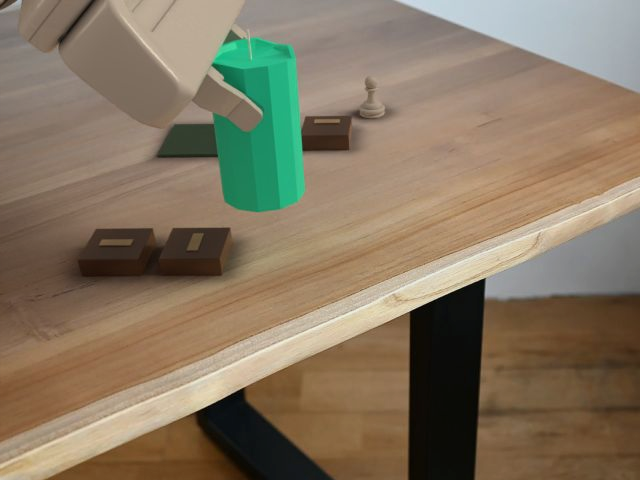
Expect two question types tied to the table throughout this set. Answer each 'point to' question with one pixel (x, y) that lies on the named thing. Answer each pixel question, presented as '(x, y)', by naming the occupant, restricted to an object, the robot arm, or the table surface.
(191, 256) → the front word
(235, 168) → the candle
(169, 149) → the mat
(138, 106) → the robot arm
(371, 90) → the pawn
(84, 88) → the table surface
